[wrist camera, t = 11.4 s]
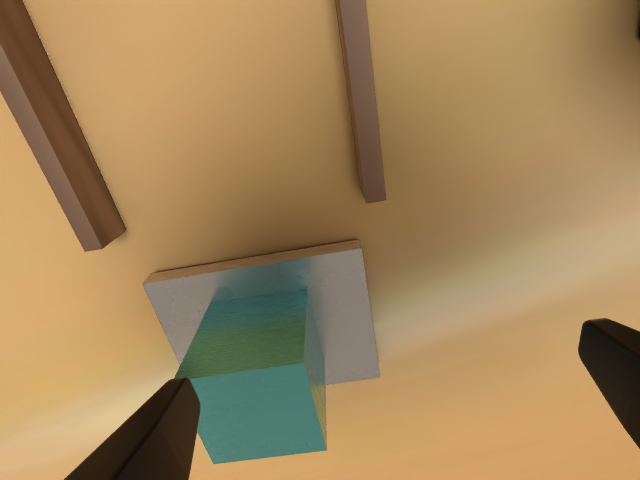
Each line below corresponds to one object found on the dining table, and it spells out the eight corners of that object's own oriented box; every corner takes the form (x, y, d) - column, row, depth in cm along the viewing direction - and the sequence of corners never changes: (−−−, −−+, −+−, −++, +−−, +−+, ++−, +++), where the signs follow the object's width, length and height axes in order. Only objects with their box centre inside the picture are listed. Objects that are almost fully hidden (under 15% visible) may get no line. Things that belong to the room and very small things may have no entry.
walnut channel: (332, -229, 13) (335, -294, 11) (378, 185, 20) (386, 200, 17) (-61, -126, 14) (-134, -165, 12) (110, 232, 21) (84, 251, 18)
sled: (359, 239, 21) (378, 314, 14) (377, 364, 25) (398, 466, 18) (150, 273, 22) (79, 359, 15) (202, 388, 26) (163, 494, 19)
